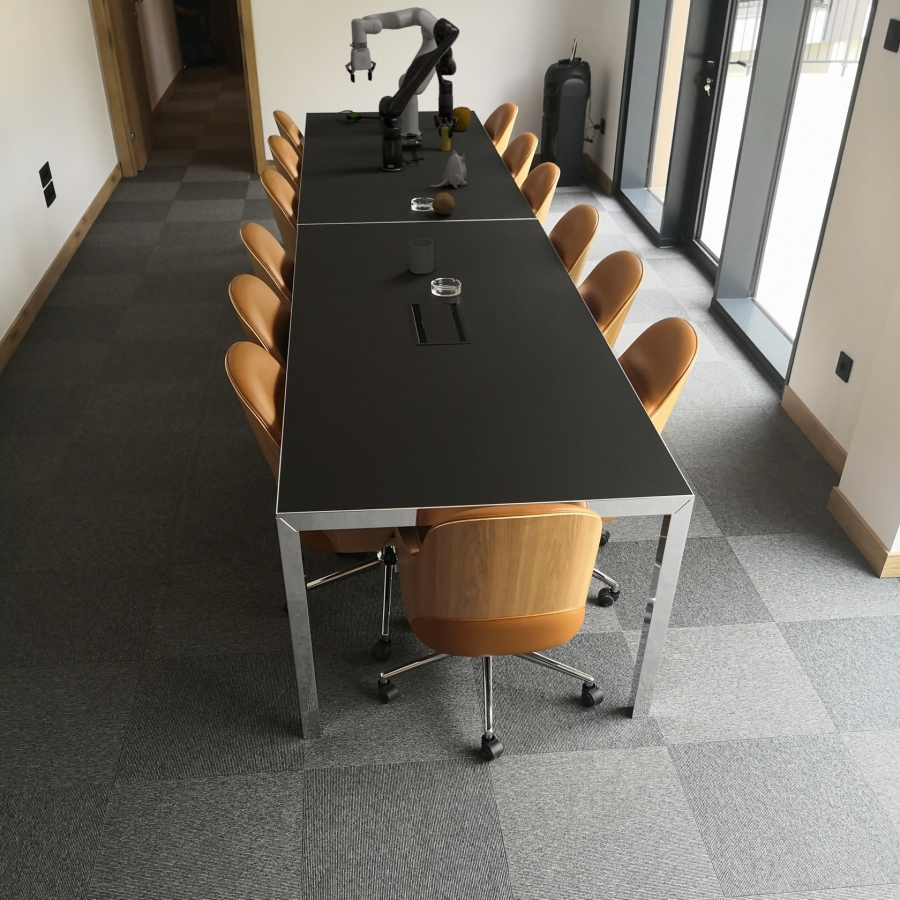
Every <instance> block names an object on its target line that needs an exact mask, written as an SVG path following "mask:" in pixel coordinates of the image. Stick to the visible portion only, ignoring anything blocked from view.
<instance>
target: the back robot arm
mask: <svg viewBox="0 0 900 900" xmlns="http://www.w3.org/2000/svg"><path fill="white" fill-rule="evenodd" d="M438 20H439V19H438V18H437V16H435V15H434V14H432V13H431V12H430V11H429V10H428V9H426V8H423V7H417V6H414V7H409V8H404V9H399V10H394V11H387V12H380V13H373V14H368V15H365V16H363V17H362V18H353V19H352V20H351V22H350V26H351V27H350V29H351V43H350V44H349V47H351V49H350V60H349V62H348V63H346V64H345V65H344V67H345V69H346V72H348V73H349V75H350V81H351V83H354V84H355V83H356V75H355V73H356V71H367V81H369V82H372V81H373V73H374V71H375V69H376V66H377V63H376V61H374V60H372V57H371V52H370V48H369V47H368V35H378V34H380V33H381V32H382V30H402V29H405V28H411V27H416V26H417V27H420V33H421V37H422V42H421V45H420V46H419V49H418V51H417V52H416V54H415V56H414V58H413V59H412V61H411V63H412V62H413V61H414V59H415V58H417V57H418V56H420V55H422V54H425V53H428V52H430V51H432V50H434V49H436V48H437V45H436V42H435V39H434V36H433V28H434V25H435V23H436V22H437V21H438ZM435 74H436V70H435V67H434V68H433V69H432V71H431V72H430V74H429V75H428V76H427V78H426V79H425V80H424V82H423V83H422V84H421V85H420V87H419V88H418V90H417V91H416V92H415V93H414V95H413V96H412V98H411V99H410V101H409V102H408V104H407V106H406V107H405V109H404V111H403V112H402V114H401V115H400V127H401V137H404V138H408V137H407V135H406V134H408V133H412V134H417V135H418V136H417V137H420V136H421V135H422V131H420V130H419V98H418V96H420V95H422V94H423V93H424V92H425V91H426V89H427V88H428V86H429V84H430V83H431V81H432V79H433V77H434V76H435ZM404 76H405V73H402V74H401V75H400V77H399V79H398V89H399V88H400V87H401V85H402V83H403V80H404Z"/></svg>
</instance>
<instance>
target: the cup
mask: <svg viewBox="0 0 900 900" xmlns="http://www.w3.org/2000/svg"><path fill="white" fill-rule="evenodd" d="M408 253H409V272H411V273H412V274H416V275H426V274H430V273H432V272H434V241H433V240H431V239H428V238H422V237H421V238H420V237H419V238H414V239H411V240H410V241H409V242H408Z"/></svg>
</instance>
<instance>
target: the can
mask: <svg viewBox="0 0 900 900" xmlns="http://www.w3.org/2000/svg"><path fill="white" fill-rule="evenodd" d="M440 151H442V152H449V151H451V138H449V129H448V126H443V127H442V128H441V137H440Z"/></svg>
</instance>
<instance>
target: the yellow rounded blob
mask: <svg viewBox="0 0 900 900" xmlns="http://www.w3.org/2000/svg"><path fill="white" fill-rule="evenodd" d="M453 117H455V118H458V122H457V127H456V129H455V130H454V131H457V132H463V131H466V130H467V129H468V128H469V126H470V124H471V121H472V111H471V108H469V107H467V106H462V105H461V106H457V107H453ZM452 123H453V119H452Z"/></svg>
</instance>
